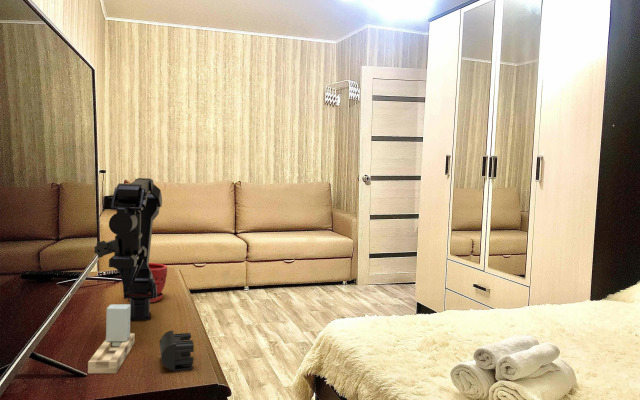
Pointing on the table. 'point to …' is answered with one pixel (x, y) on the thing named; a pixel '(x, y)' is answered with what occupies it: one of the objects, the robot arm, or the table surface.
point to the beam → (110, 356)
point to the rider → (118, 323)
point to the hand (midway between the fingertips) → (128, 287)
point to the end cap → (177, 351)
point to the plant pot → (158, 278)
